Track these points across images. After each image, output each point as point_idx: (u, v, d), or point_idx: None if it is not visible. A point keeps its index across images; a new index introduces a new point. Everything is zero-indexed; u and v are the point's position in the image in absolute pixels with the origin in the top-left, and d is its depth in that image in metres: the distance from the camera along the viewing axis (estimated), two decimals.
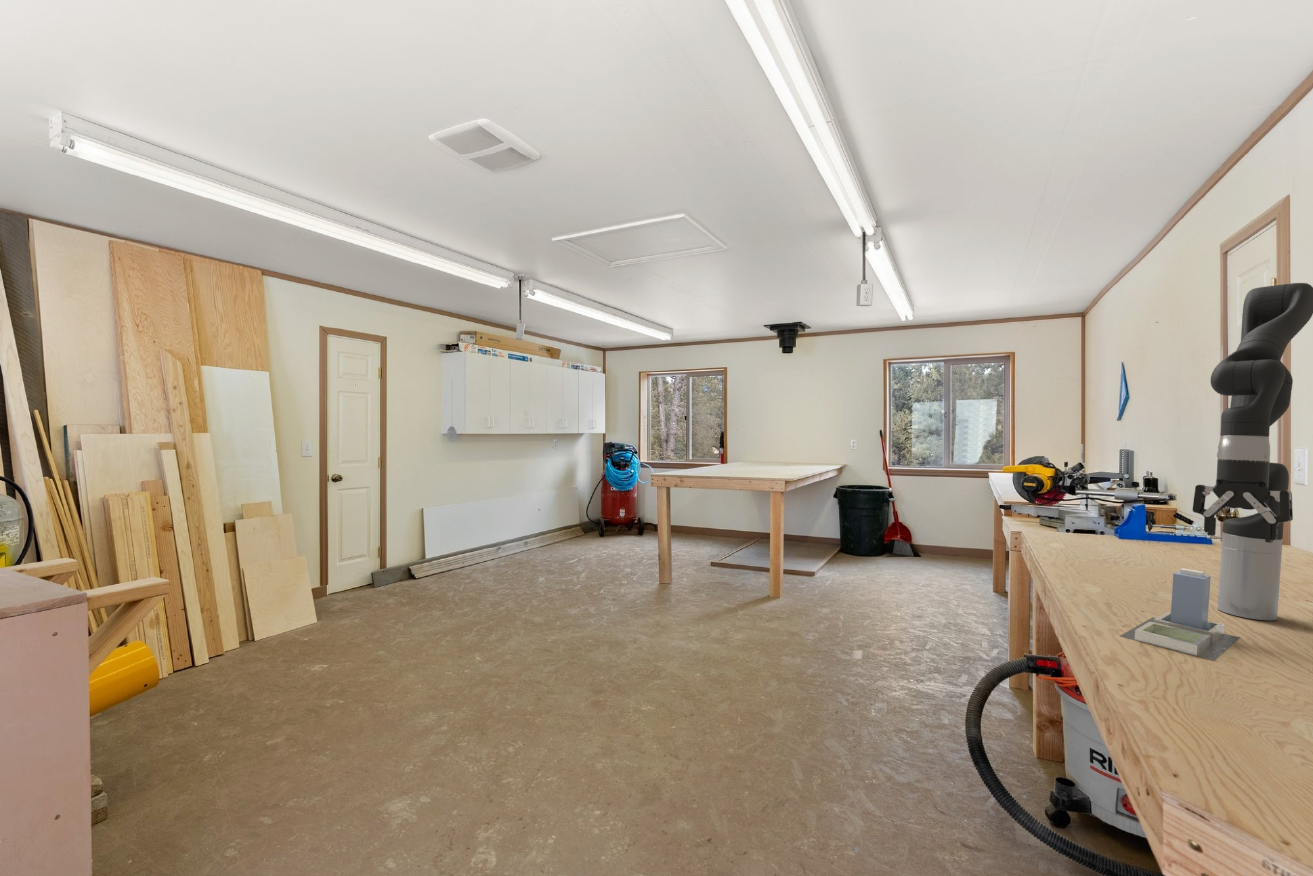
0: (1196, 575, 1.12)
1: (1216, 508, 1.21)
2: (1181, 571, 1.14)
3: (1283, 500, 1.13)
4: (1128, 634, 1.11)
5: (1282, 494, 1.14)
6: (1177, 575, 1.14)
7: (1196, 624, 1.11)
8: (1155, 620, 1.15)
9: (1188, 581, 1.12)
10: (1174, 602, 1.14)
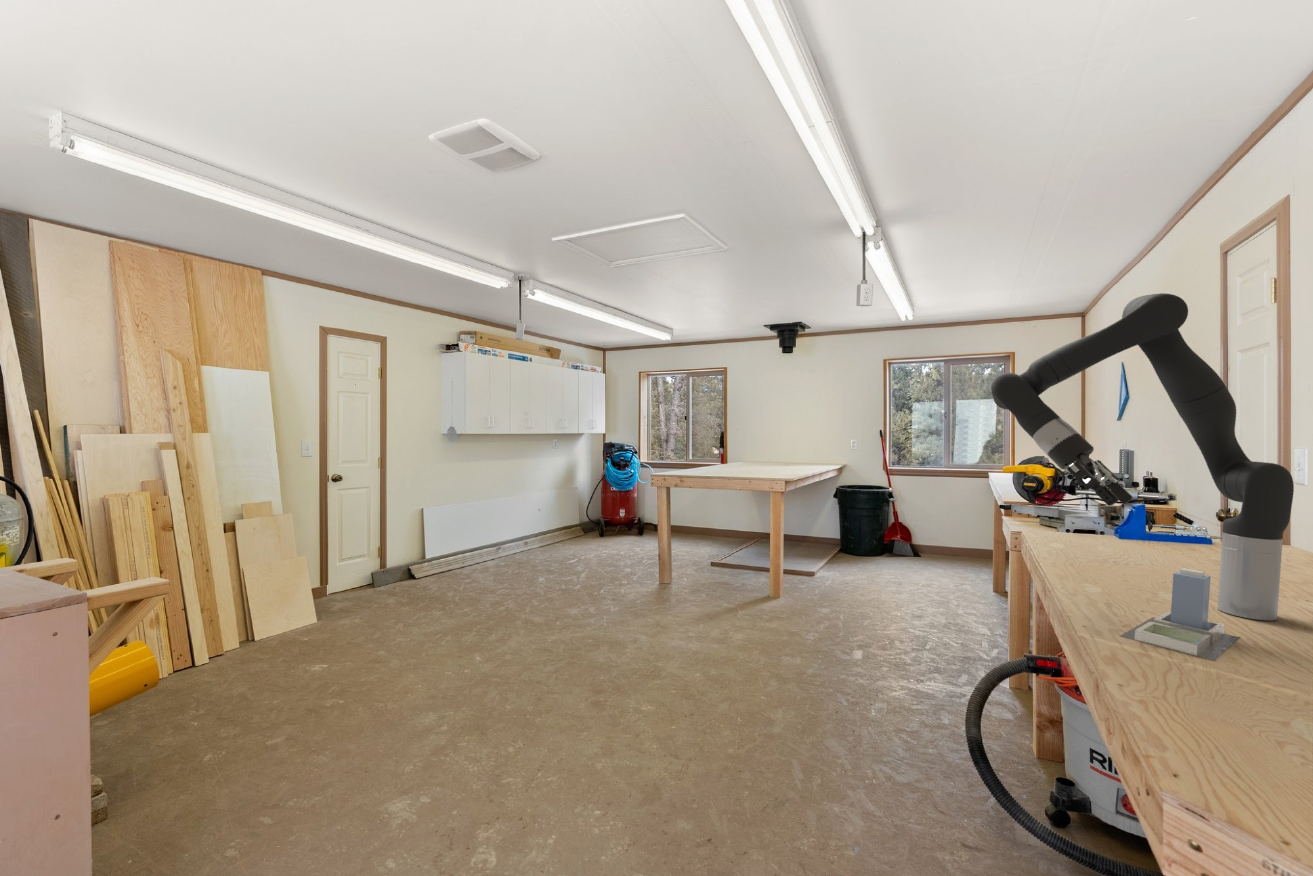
0: (1196, 575, 1.12)
1: None
2: (1181, 571, 1.14)
3: None
4: (1128, 634, 1.11)
5: None
6: (1177, 575, 1.14)
7: (1196, 624, 1.11)
8: (1155, 620, 1.15)
9: (1188, 581, 1.12)
10: (1174, 602, 1.14)
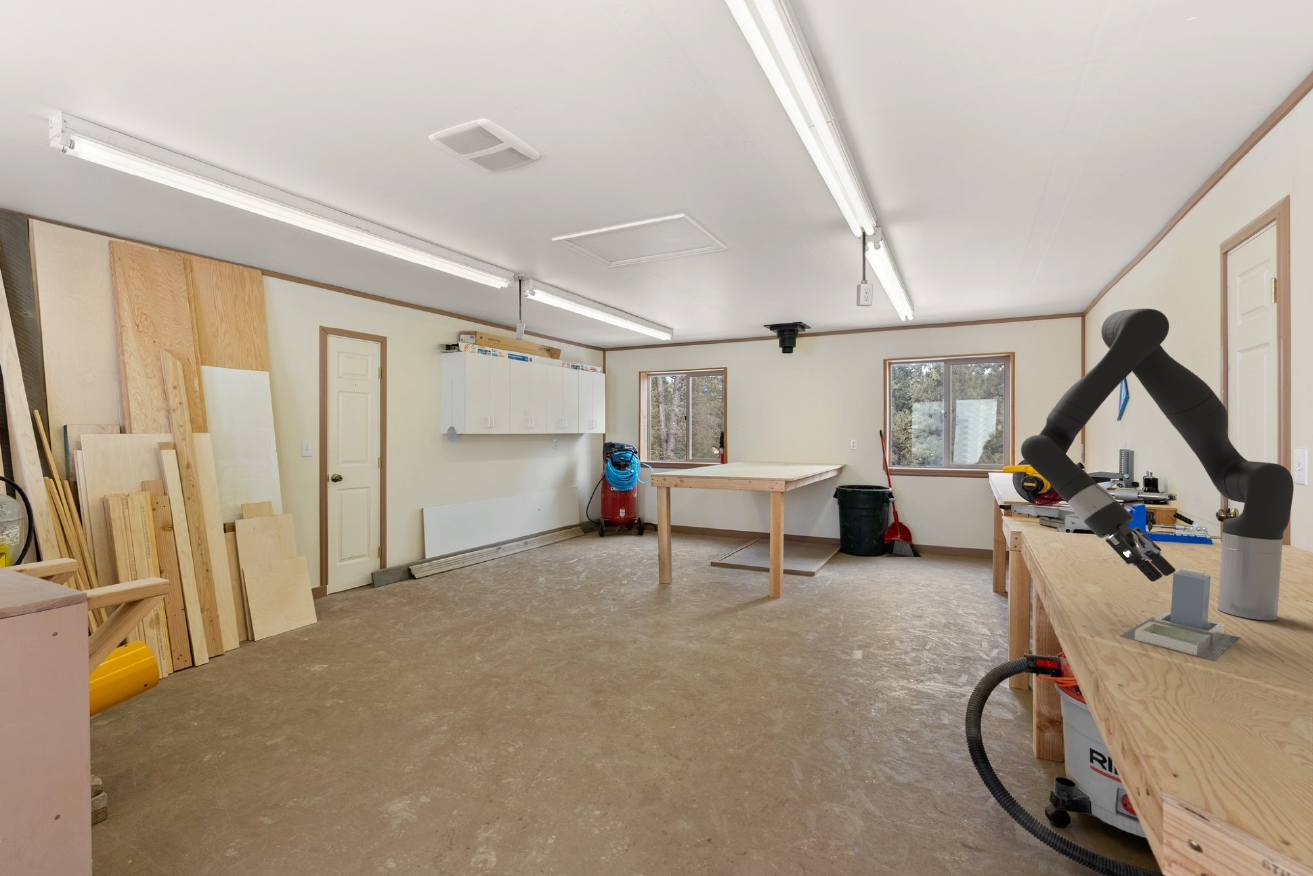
0: (1196, 575, 1.12)
1: None
2: (1181, 571, 1.14)
3: None
4: (1128, 634, 1.11)
5: None
6: (1177, 575, 1.14)
7: (1196, 624, 1.11)
8: (1155, 620, 1.15)
9: (1188, 581, 1.12)
10: (1174, 602, 1.14)
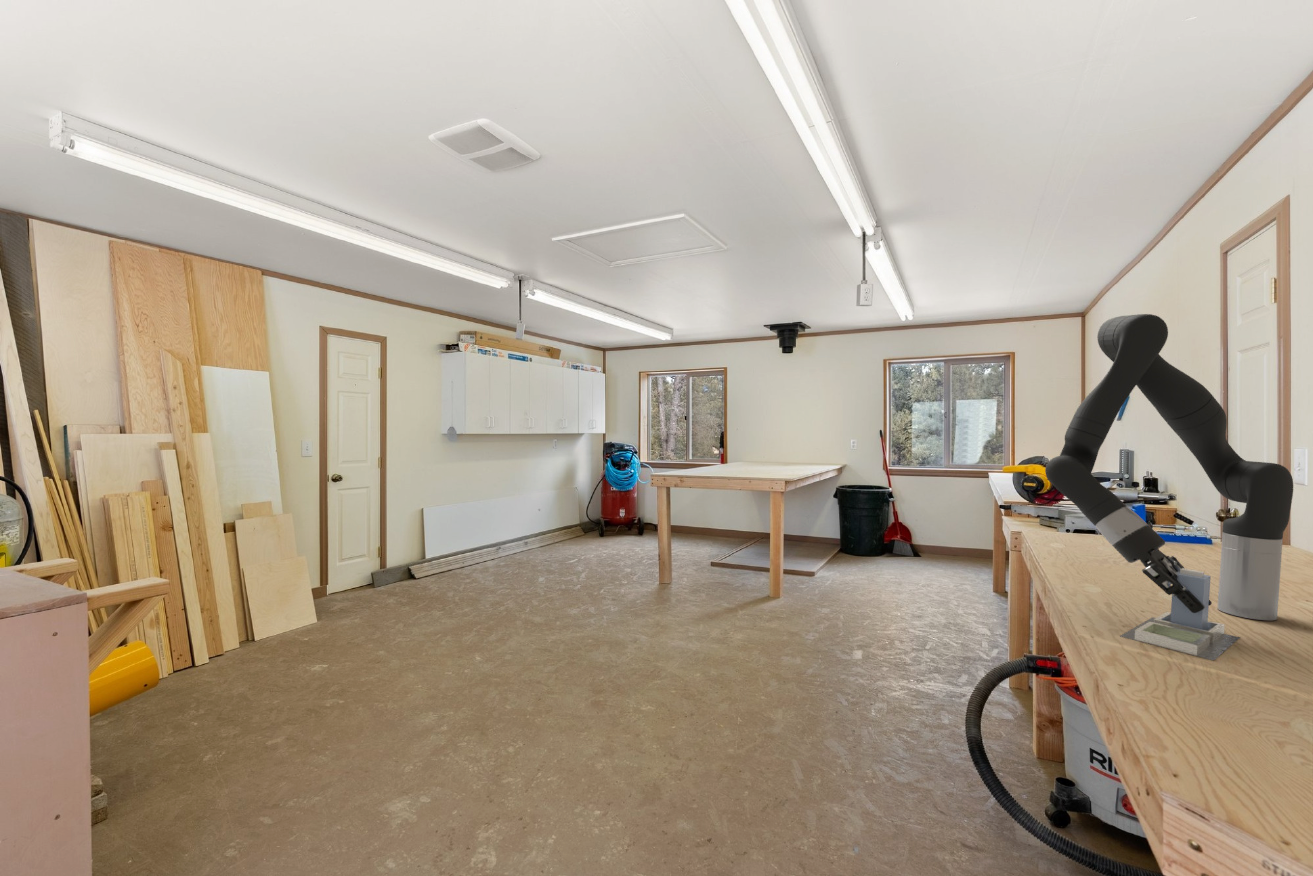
0: (1196, 575, 1.12)
1: None
2: (1181, 571, 1.14)
3: None
4: (1128, 634, 1.11)
5: None
6: None
7: (1196, 624, 1.11)
8: (1155, 620, 1.15)
9: (1188, 581, 1.12)
10: (1174, 602, 1.14)
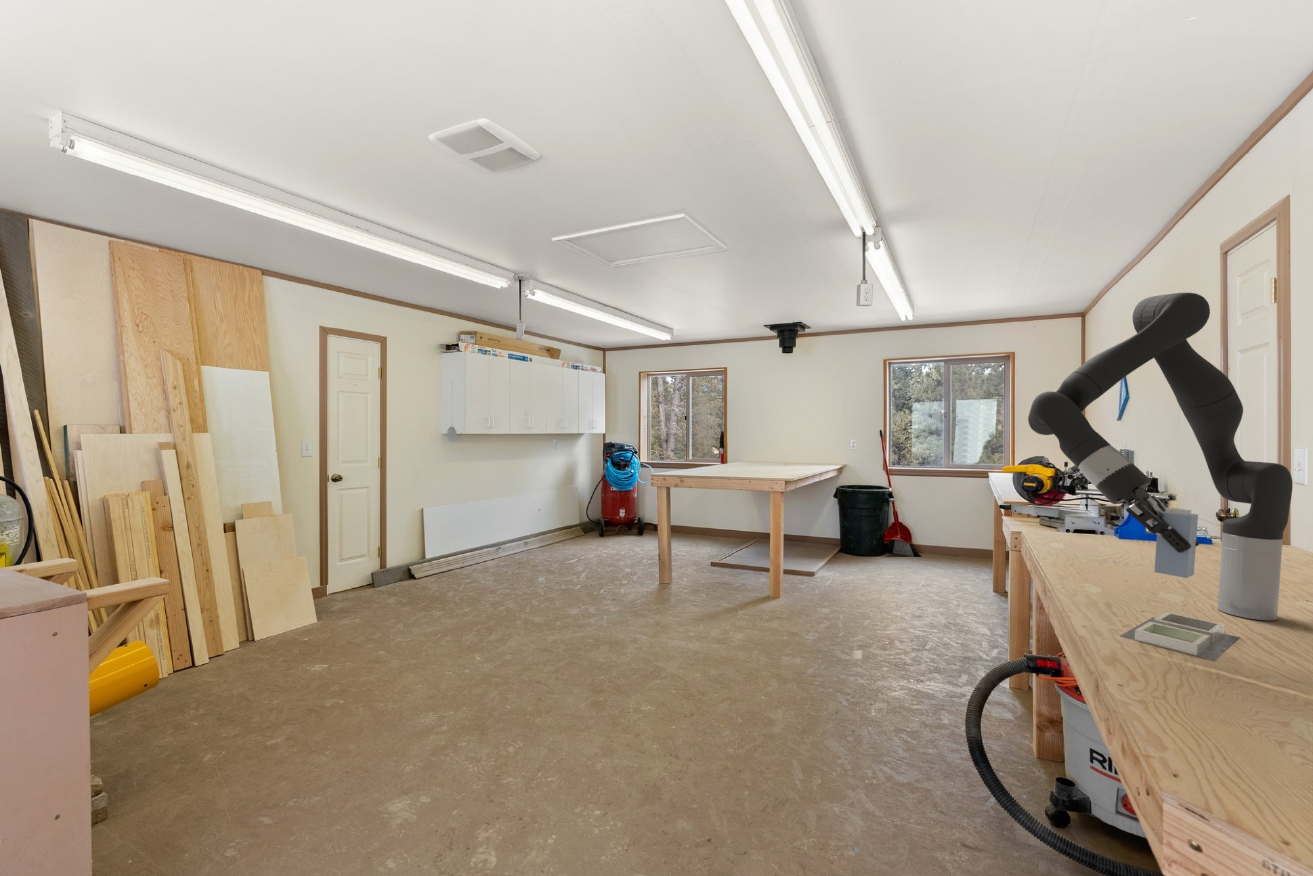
0: (1182, 513, 1.06)
1: None
2: (1167, 510, 1.07)
3: None
4: (1128, 634, 1.11)
5: None
6: None
7: (1182, 564, 1.04)
8: (1155, 620, 1.15)
9: (1173, 519, 1.05)
10: (1159, 542, 1.07)
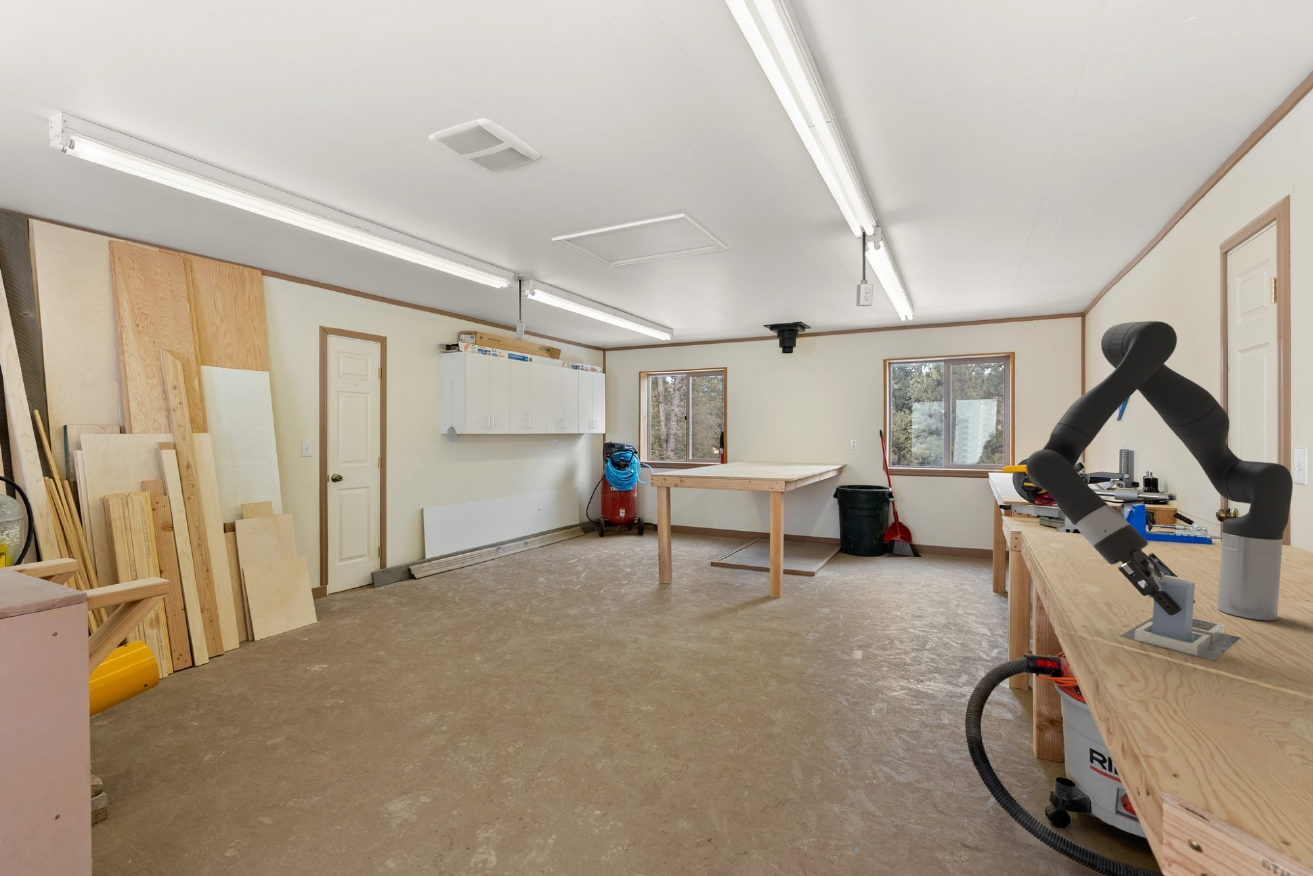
0: (1179, 582, 1.06)
1: None
2: (1163, 578, 1.08)
3: None
4: (1128, 634, 1.11)
5: None
6: (1159, 582, 1.07)
7: (1179, 634, 1.05)
8: None
9: (1170, 589, 1.06)
10: (1156, 611, 1.07)
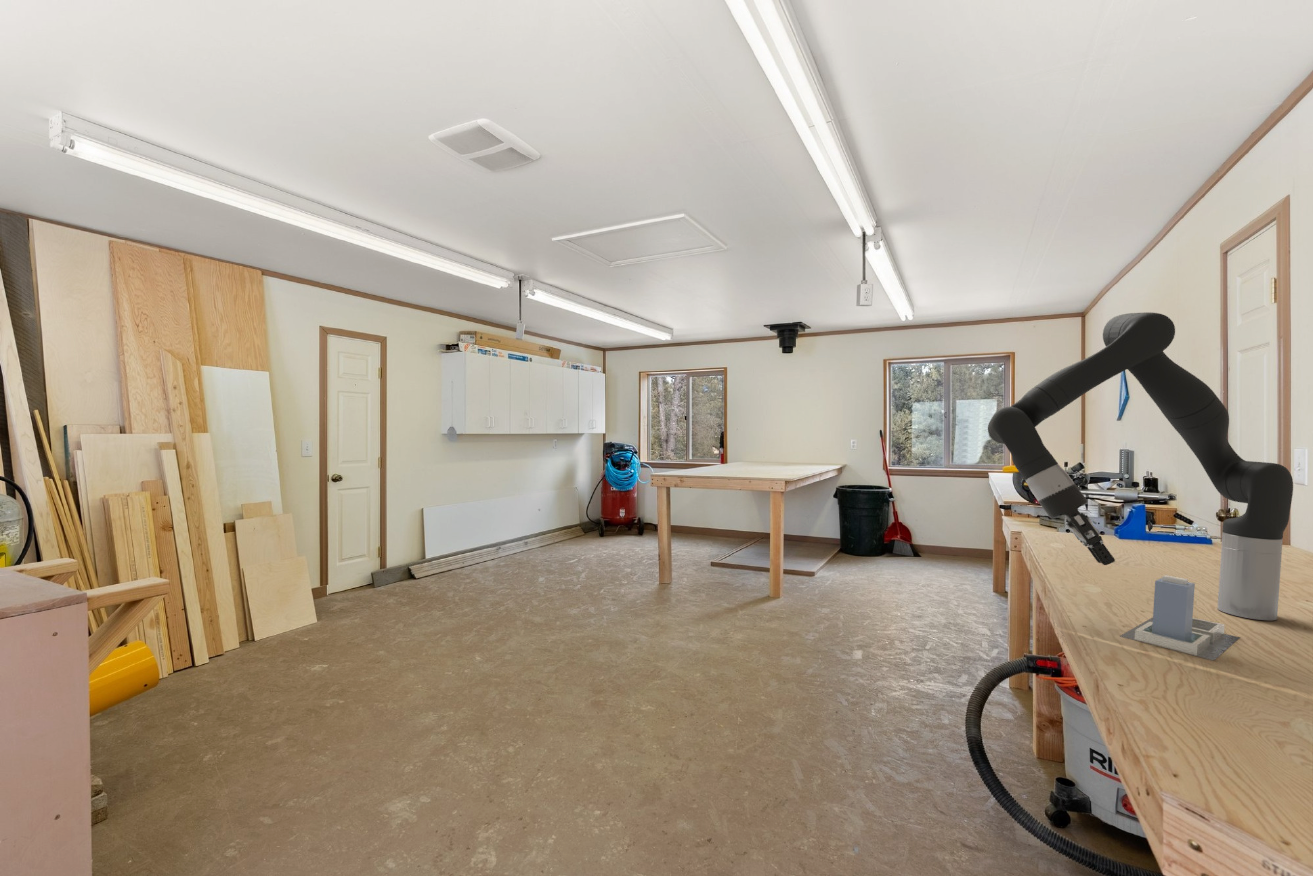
0: (1179, 582, 1.06)
1: None
2: (1163, 578, 1.08)
3: (1075, 526, 1.16)
4: (1128, 634, 1.11)
5: (1071, 522, 1.17)
6: (1159, 582, 1.07)
7: (1179, 634, 1.05)
8: None
9: (1170, 589, 1.06)
10: (1156, 611, 1.07)
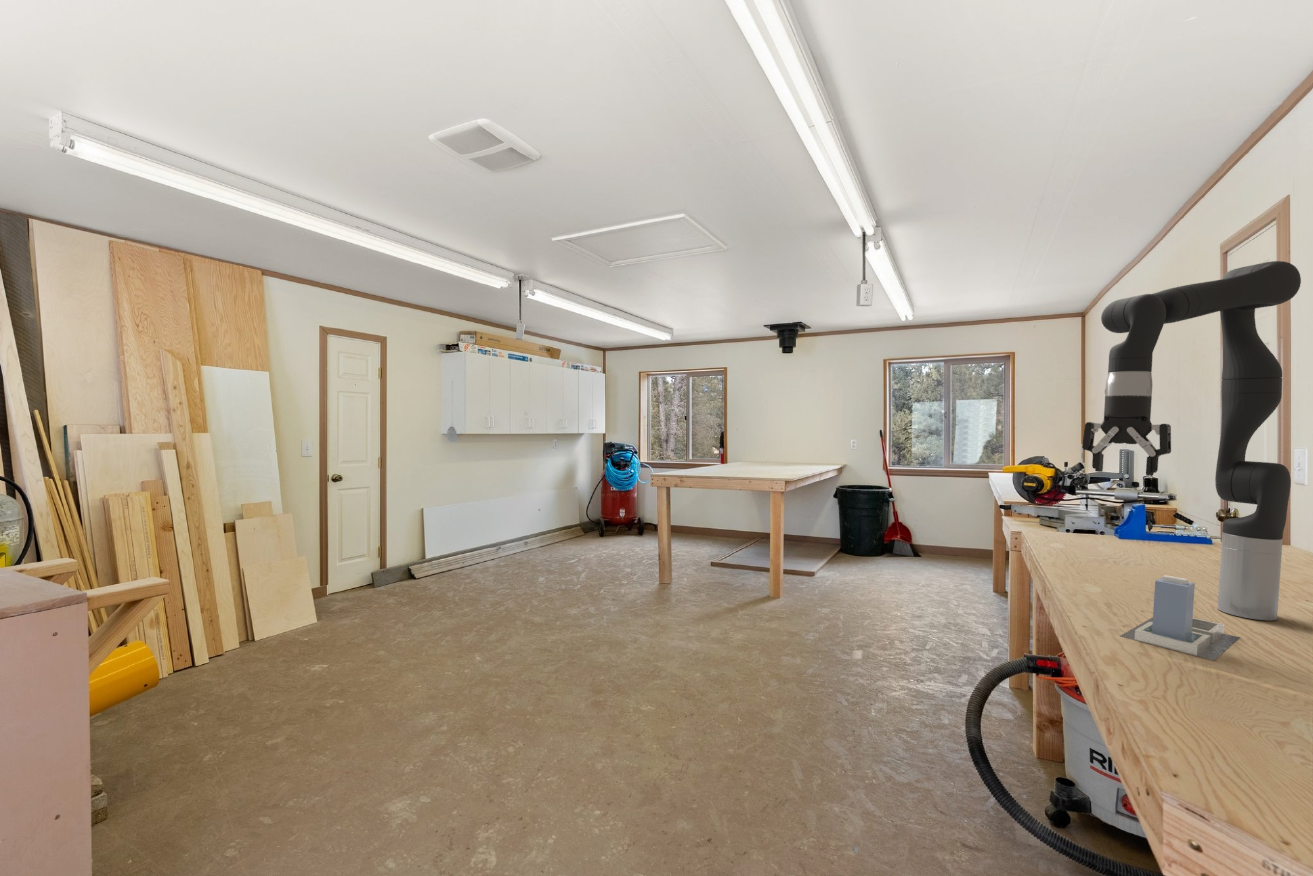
0: (1179, 582, 1.06)
1: (1103, 444, 1.23)
2: (1163, 578, 1.08)
3: (1163, 433, 1.16)
4: (1128, 634, 1.11)
5: (1161, 427, 1.16)
6: (1159, 582, 1.07)
7: (1179, 634, 1.05)
8: None
9: (1170, 589, 1.06)
10: (1156, 611, 1.07)
